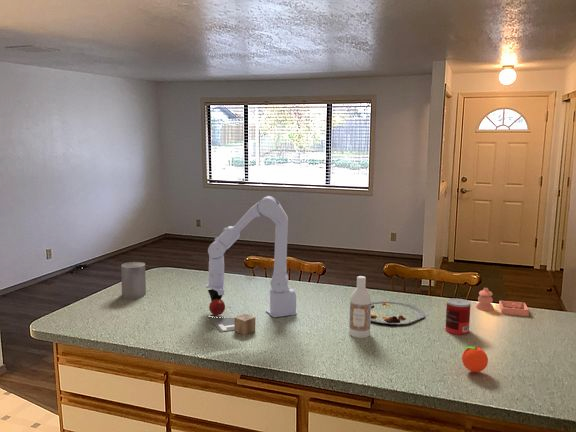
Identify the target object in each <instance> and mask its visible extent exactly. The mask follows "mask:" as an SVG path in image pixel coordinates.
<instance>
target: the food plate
mask: <svg viewBox="0 0 576 432" xmlns="http://www.w3.org/2000/svg"><path fill="white" fill-rule="evenodd" d="M377 304H378V305H381V307H382V306H387V307H392V305H397V306H398V305H400V306H402V307H403V306H404V307H408V308H409V310H413V311H416V313H418V314H419V317H417V318H416V319H415V320H413V321H408V322H401V321H404V320H406V319H407V318H406V317H404V316H403V315H402V314H400V315H399V316H394V315H393V316H388V314H386V317H385V316H382V317H381V316H380V315H383V313H380V314H379V315H378V314H377V313H376V312H373V311H372V309H373V308H375V305H377ZM377 317H378V318H380V317H381V319H382V320H383V321H381V320H377V319H376V318H377ZM424 318H426V314H425V313H424V312H423V311H422V310H421V308H418V307H416V306H413V305H411V304H407V303H404V302H397V301H387V300H386V301H385V300H384V301H381V300H379V301H371V322H373V323H377V324H386V325H390V326H391V325H392V326H393V325H395V326H400V325H403V326H406V325H408V324H411V323H415V322H417V321H419V320H420V319H424ZM384 321H385V322H384Z"/></svg>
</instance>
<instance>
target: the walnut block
mask: <svg viewBox="0 0 576 432" xmlns="http://www.w3.org/2000/svg"><path fill="white" fill-rule="evenodd" d="M234 318H235V326H234V331H233V332H235V333H237V334H240V335H243V336H247V335H250V334H252V333H254V332H256V316H253V315H252V314H251V315H250V314H247V313H244V314H241V315H238V316H237V315H236V316H234Z"/></svg>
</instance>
